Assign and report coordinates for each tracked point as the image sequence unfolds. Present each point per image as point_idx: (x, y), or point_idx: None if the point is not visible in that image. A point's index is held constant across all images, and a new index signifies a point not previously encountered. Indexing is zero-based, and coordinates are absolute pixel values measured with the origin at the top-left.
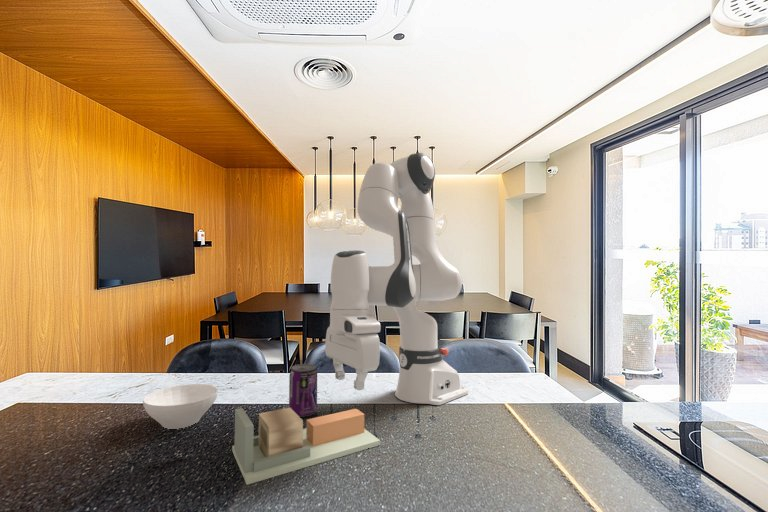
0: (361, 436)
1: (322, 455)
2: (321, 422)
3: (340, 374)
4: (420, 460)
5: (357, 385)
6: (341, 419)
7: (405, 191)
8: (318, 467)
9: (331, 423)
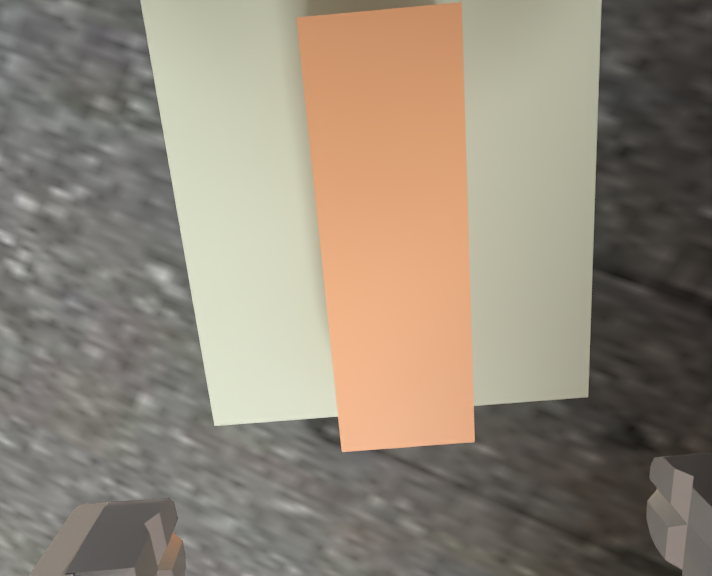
0: (304, 357)
1: (167, 60)
2: (343, 107)
3: (693, 528)
4: (8, 504)
5: (52, 544)
6: (328, 272)
7: None
8: (115, 17)
9: (314, 184)
